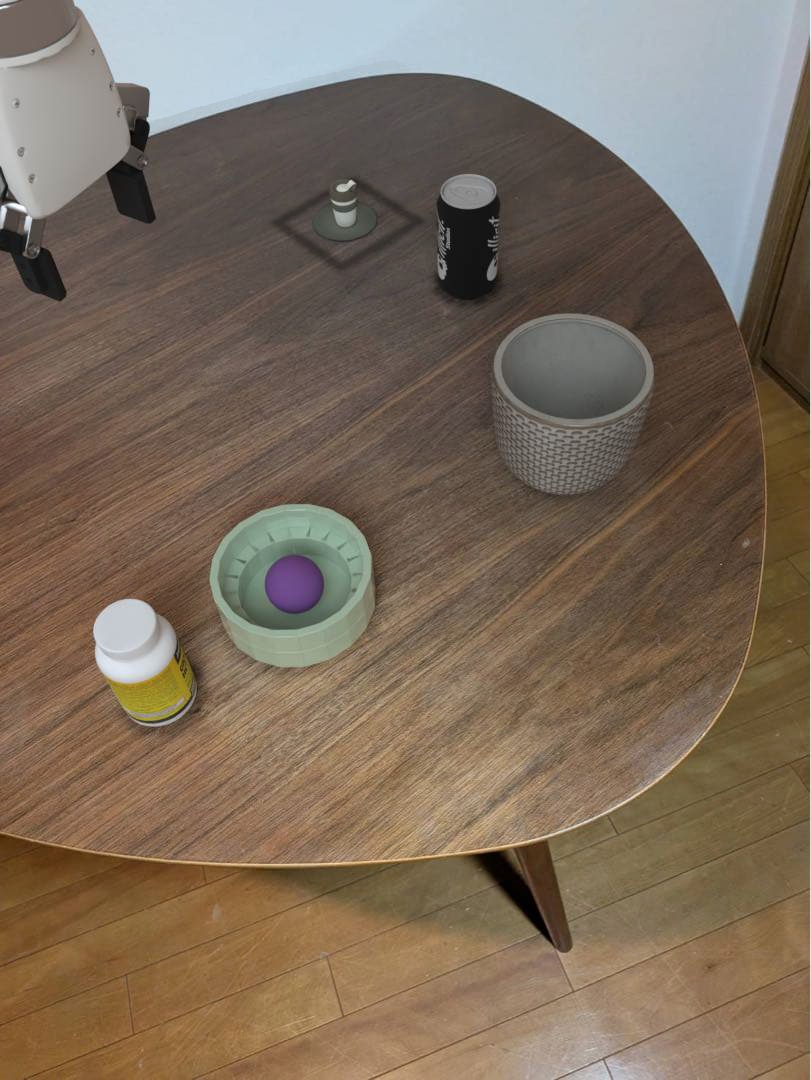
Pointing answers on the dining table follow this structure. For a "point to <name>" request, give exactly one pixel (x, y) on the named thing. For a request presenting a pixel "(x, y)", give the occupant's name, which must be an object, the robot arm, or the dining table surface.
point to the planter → (569, 401)
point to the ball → (294, 584)
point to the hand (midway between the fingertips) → (94, 254)
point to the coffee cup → (344, 214)
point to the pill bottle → (143, 663)
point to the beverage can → (468, 236)
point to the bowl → (288, 634)
